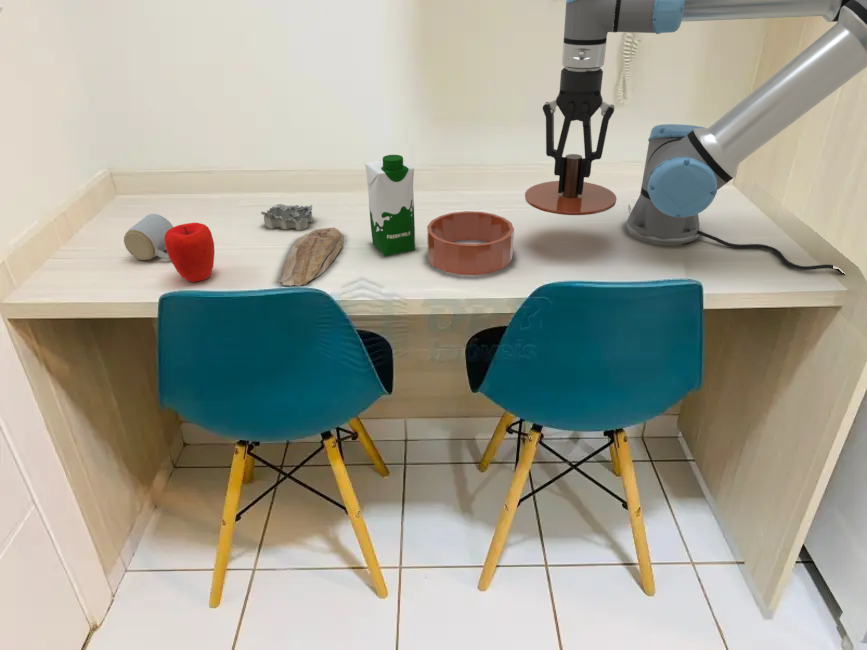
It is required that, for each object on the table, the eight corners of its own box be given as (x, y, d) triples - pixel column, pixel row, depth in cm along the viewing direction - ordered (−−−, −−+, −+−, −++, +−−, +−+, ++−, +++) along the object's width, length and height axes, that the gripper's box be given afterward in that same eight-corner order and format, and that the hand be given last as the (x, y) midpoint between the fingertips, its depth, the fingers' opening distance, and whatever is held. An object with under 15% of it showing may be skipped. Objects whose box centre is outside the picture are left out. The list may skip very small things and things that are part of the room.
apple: (199, 263, 130) (188, 214, 124) (230, 272, 126) (219, 222, 120) (164, 281, 123) (150, 229, 117) (195, 291, 119) (182, 239, 114)
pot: (518, 245, 135) (520, 215, 131) (502, 282, 121) (504, 250, 117) (441, 236, 139) (441, 207, 136) (417, 271, 125) (416, 240, 121)
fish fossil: (326, 286, 120) (325, 280, 120) (274, 289, 121) (273, 284, 120) (345, 229, 142) (344, 224, 141) (300, 233, 143) (299, 228, 142)
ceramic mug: (125, 260, 131) (116, 226, 127) (149, 244, 138) (141, 211, 134) (171, 266, 129) (162, 231, 125) (193, 249, 136) (185, 216, 132)
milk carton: (382, 259, 130) (376, 164, 119) (367, 243, 137) (359, 151, 126) (420, 251, 133) (418, 157, 122) (404, 235, 140) (400, 145, 129)
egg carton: (261, 229, 145) (258, 212, 142) (274, 216, 151) (272, 200, 149) (305, 231, 143) (302, 214, 140) (316, 219, 149) (314, 202, 147)
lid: (617, 189, 133) (623, 146, 128) (613, 222, 118) (619, 174, 113) (532, 183, 138) (534, 140, 133) (517, 213, 123) (519, 167, 118)
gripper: (534, 70, 114) (527, 194, 126) (627, 73, 109) (610, 201, 122) (540, 63, 120) (533, 182, 132) (629, 65, 116) (612, 188, 128)
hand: (570, 191), depth 127 cm, fingers closed on lid, 3 cm apart
